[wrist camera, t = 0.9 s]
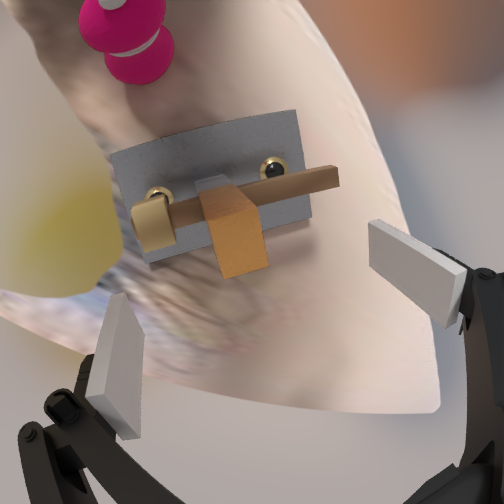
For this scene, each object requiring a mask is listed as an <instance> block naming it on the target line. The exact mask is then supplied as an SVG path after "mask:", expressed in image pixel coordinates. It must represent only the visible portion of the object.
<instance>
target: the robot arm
mask: <svg viewBox="0 0 504 504" xmlns="http://www.w3.org/2000/svg"><path fill="white" fill-rule="evenodd" d="M368 232H369V266H370V267H371V268H372V269H374V270H375V271H376V272H377V273H379V274H380V275H381V276H382V277H384V278H385V279H386V280H387V281H389V282H390V283H391V284H392V285H393V286H395V287H396V288H397V289H398V290H400V291H401V292H402V293H403V294H404V295H406V296H407V297H408V298H409V299H410V300H412V301H413V302H414V303H415V304H416V305H418V306H419V307H420V308H421V309H422V310H424V311H425V312H426V313H427V314H428V315H429V316H431V317H432V318H433V319H434V320H435V321H436V322H438V323H439V324H440V325H441V326H442V327H443V328H444V329H446V328H448V327H449V326H451V325H452V324H454V323H456V320H457V317H458V313H459V312H461V313H462V314H463V315H464V316H463V320H462V324H461V327H460V331H459V335H461V333H462V331H463V332H464V342H465V353H466V371H467V428H466V445H465V450H464V453H463V456H462V458H461V461H460V465H459V467H457V468H456V467H455V466H454V464H453V463H452V464H451V465H450V466H448V467H447V468H446V469H444V470H443V471H441V472H440V473H438V474H437V475H435V476H434V477H433V478H431V479H429V480H428V481H426V482H425V483H424V484H423V485H422V486H421V487H420V488H419V489H418V490H417V491H416V492H415V493H414V494H413V495H412V496H411V497H410V498H409V499H408V500H406V501H405V502H404V503H403V504H504V272H503V273H498V274H496V273H495V272H494V271H493V270H490V269H487V268H478V269H476V270H473V269H471V268H470V267H468V266H467V265H465V264H463V263H462V262H460V261H459V260H457V259H456V260H455V258H454V257H452V256H449V255H448V254H447V253H445V252H443V251H442V250H438V249H435V248H431V247H429V246H427V245H426V244H424V243H422V242H420V241H418V240H417V239H415V238H413V237H411V236H410V235H408V234H406V233H404V232H402V231H401V230H399V229H397V228H395V227H393V226H391V225H390V224H388V223H386V222H384V221H382V220H380V219H377V220H374V221H370V222H368ZM144 337H145V334H144V332H143V330H142V328H141V326H140V324H139V322H138V320H137V318H136V316H135V314H134V312H133V310H132V307H131V305H130V303H129V301H128V299H127V296H126V294H125V292H123V293H119V294H116V295H112V296H111V298H110V301H109V304H108V307H107V311H106V314H105V318H104V321H103V325H102V328H101V332H100V335H99V339H98V343H97V347H96V351H95V354H90V355H87V356H86V357H85V359H84V361H83V362H82V363H81V366H80V369H79V374H78V377H77V382H76V385H75V389H74V393H72V392H71V391H70V390H69V389H64V388H62V389H58V390H56V391H54V392H53V393H51V395H50V396H48V397H47V399H46V401H45V404H44V411H45V413H46V414H47V415H48V416H49V417H50V419H51V420H52V421H53V422H54V423H55V424H53V425H50V426H48V427H45V428H43V427H42V426H41V425H40V424H39V423H37V422H34V421H32V422H28V423H27V424H25V425H24V426H23V427H22V428H21V429H20V431H19V434H18V446H19V452H20V458H21V463H22V468H23V474H24V478H25V483H26V487H27V491H28V494H29V499H30V502H31V504H98V502H97V500H96V498H95V496H94V494H93V492H92V490H91V487H90V485H89V483H88V480H87V478H86V476H85V473H84V471H83V468H86V467H87V468H88V469H89V471H90V472H91V473H92V474H93V476H94V477H95V478H96V479H97V480H98V482H99V483H100V484H101V485H102V487H103V488H104V489H105V490H106V491H107V492H108V494H109V495H110V496H111V497H112V498H113V499H114V500H115V501H116V503H117V504H185V503H184V502H183V501H181V500H180V499H179V498H178V497H176V496H175V495H174V494H173V493H171V492H170V491H169V490H168V489H166V488H165V487H164V486H163V485H162V484H160V483H159V482H158V481H157V480H156V479H155V478H153V477H152V476H151V475H150V474H149V473H148V472H147V471H145V470H144V469H143V468H142V467H141V466H140V465H139V464H138V463H137V462H136V461H135V460H134V459H133V458H132V457H131V456H130V455H129V454H128V453H127V452H125V451H124V450H123V449H122V447H120V445H119V444H118V443H117V442H116V433H117V434H118V436H119V437H120V438H121V439H122V440H130V439H138V438H141V433H140V432H141V430H140V429H141V386H142V366H143V350H144Z"/></svg>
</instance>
